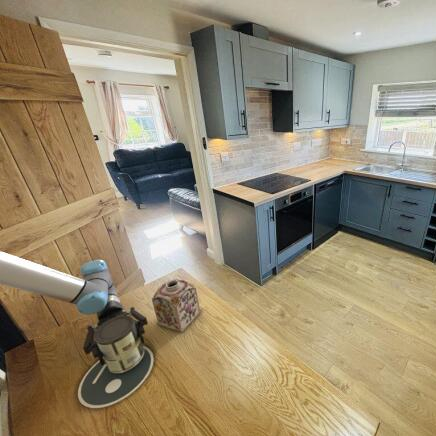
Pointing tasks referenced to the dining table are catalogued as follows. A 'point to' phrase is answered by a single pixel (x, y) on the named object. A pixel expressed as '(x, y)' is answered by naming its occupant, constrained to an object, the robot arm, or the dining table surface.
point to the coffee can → (119, 343)
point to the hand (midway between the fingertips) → (123, 350)
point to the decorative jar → (176, 304)
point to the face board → (112, 382)
